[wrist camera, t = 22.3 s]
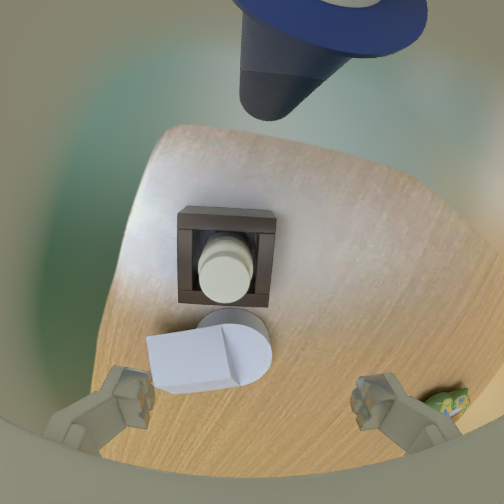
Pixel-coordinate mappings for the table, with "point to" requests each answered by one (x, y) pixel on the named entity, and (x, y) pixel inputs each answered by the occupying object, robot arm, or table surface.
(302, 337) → the table surface
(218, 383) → the wedge on round base
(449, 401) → the educational model
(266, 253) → the socket
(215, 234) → the pill bottle
